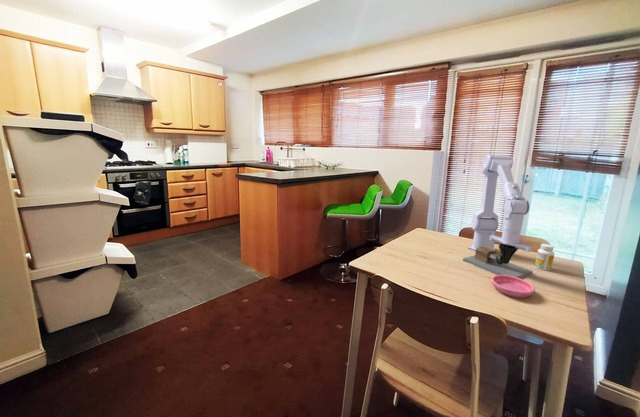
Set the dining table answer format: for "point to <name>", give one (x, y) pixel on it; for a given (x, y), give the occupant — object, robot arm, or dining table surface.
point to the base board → (499, 267)
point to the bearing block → (484, 254)
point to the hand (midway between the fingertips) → (505, 262)
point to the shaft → (496, 258)
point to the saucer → (512, 286)
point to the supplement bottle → (545, 257)
